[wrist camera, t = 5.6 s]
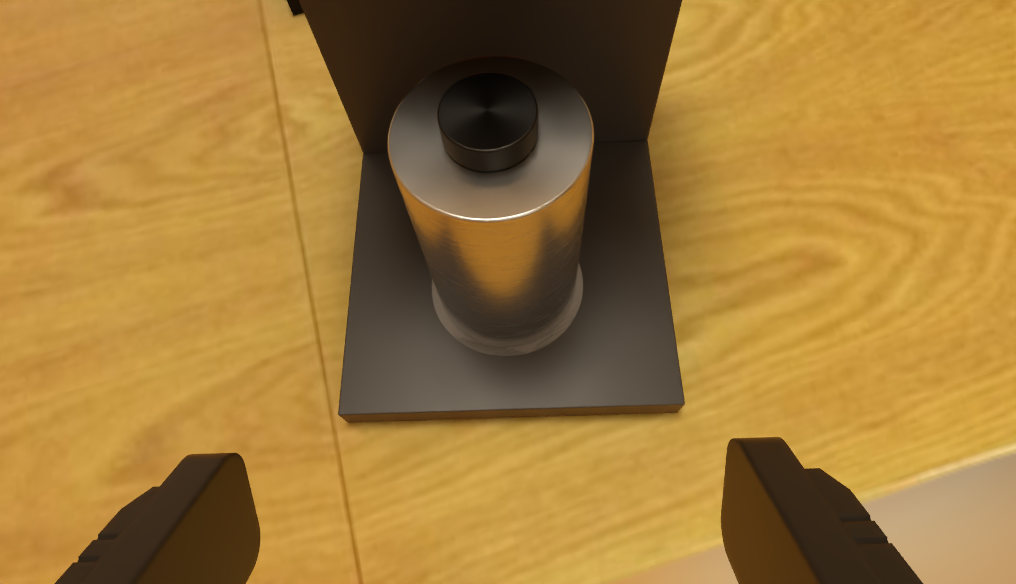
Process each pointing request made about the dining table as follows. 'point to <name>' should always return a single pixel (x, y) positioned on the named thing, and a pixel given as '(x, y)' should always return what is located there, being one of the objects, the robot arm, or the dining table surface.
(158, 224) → the dining table surface
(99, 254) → the dining table surface
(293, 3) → the remote control
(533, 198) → the steel carafe
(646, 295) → the coffee maker
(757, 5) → the dining table surface
